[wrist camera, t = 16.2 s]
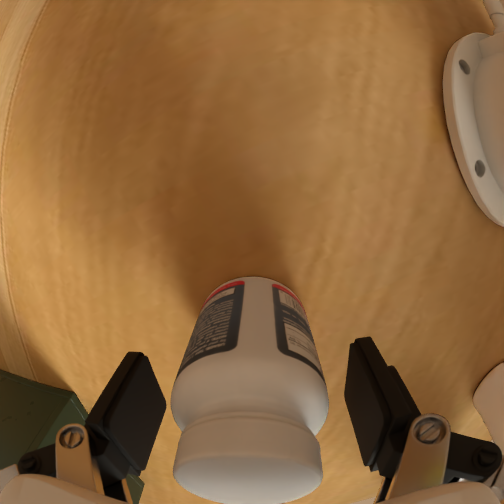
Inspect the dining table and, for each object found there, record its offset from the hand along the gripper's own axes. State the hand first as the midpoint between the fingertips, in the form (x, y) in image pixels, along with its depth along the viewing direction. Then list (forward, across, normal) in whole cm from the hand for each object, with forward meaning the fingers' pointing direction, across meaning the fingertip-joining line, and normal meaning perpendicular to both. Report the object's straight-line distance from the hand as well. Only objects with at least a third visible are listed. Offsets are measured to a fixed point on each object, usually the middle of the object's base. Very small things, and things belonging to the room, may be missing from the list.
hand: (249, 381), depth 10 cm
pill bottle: (+4, 0, 0) cm, 4 cm away
